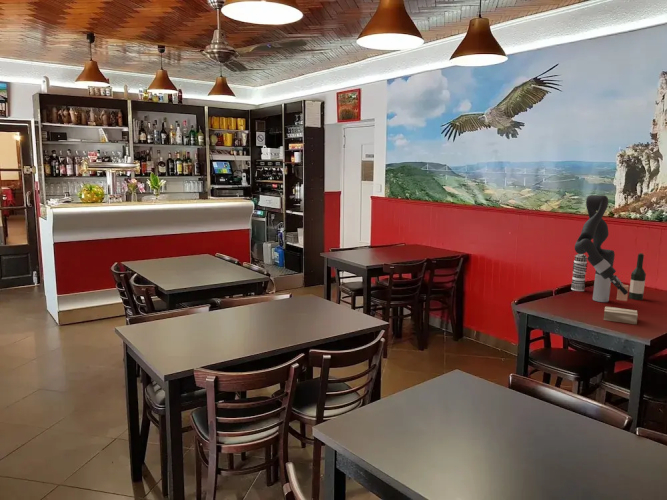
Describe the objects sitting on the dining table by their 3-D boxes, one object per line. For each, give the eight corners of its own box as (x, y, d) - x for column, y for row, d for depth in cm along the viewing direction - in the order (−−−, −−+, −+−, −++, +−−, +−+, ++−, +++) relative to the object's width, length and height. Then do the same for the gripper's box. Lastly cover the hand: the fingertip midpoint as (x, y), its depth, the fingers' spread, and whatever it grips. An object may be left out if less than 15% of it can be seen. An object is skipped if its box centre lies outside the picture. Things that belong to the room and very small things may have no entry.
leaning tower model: (582, 292, 352) (586, 256, 348) (568, 289, 359) (571, 254, 355) (586, 289, 359) (590, 254, 355) (573, 287, 365) (576, 252, 361)
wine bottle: (637, 300, 332) (643, 254, 328) (625, 297, 340) (630, 252, 335) (645, 299, 336) (651, 254, 331) (633, 296, 343) (638, 252, 339)
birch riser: (604, 314, 298) (605, 306, 297) (636, 319, 290) (637, 310, 290) (603, 319, 288) (604, 311, 287) (636, 324, 280) (637, 315, 279)
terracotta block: (616, 297, 289) (618, 284, 288) (626, 299, 287) (628, 285, 286) (616, 299, 285) (618, 285, 284) (626, 301, 283) (628, 286, 281)
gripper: (610, 266, 280) (632, 291, 276) (610, 262, 293) (632, 286, 289) (598, 275, 284) (620, 299, 280) (599, 270, 296) (620, 294, 292)
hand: (626, 292), depth 284 cm, fingers closed on terracotta block, 5 cm apart
